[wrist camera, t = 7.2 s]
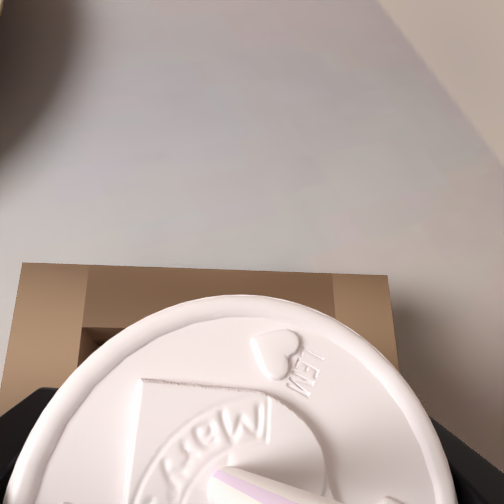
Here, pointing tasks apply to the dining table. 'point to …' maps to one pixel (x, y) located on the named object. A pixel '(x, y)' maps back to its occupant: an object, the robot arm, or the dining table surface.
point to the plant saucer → (1, 6)
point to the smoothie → (234, 416)
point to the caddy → (156, 299)
